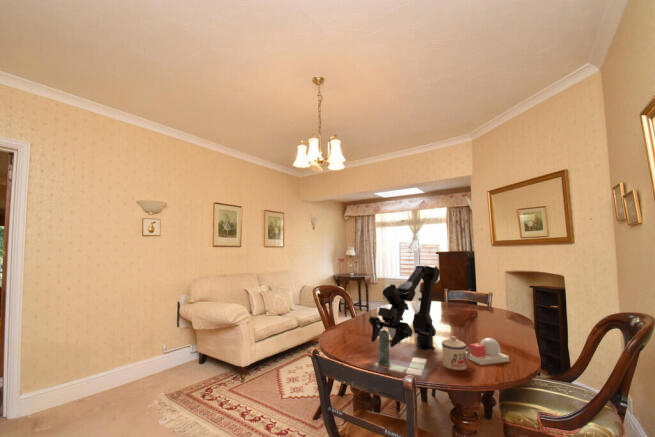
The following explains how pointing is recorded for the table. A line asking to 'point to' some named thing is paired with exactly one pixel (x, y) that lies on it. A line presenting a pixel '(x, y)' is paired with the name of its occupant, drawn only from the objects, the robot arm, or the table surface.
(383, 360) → the pawn
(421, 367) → the track
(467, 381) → the table surface
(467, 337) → the table surface
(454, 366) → the teacup with lid
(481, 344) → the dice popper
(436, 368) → the table surface
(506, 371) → the table surface
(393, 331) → the frog figurine
